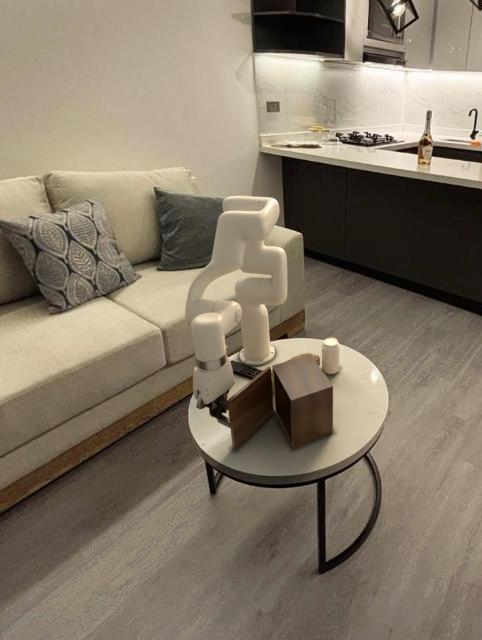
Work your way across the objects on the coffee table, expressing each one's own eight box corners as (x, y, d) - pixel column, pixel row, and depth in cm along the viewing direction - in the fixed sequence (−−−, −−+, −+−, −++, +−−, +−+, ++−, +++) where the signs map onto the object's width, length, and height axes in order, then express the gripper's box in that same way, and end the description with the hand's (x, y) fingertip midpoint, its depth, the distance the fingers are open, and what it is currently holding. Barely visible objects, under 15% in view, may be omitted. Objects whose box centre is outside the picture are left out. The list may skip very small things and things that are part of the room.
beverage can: (336, 363, 147) (336, 334, 143) (341, 373, 142) (342, 344, 137) (319, 366, 145) (319, 338, 140) (324, 377, 140) (324, 348, 135)
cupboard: (293, 449, 112) (291, 400, 105) (275, 411, 124) (272, 365, 118) (332, 433, 117) (333, 386, 111) (311, 398, 130) (310, 354, 124)
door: (214, 438, 114) (207, 390, 107) (254, 402, 127) (250, 358, 121) (235, 449, 111) (229, 401, 104) (273, 412, 124) (271, 367, 117)
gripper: (225, 339, 114) (230, 392, 121) (175, 370, 101) (185, 427, 108) (244, 348, 110) (249, 402, 117) (196, 380, 97) (204, 438, 104)
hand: (218, 413), depth 112 cm, fingers closed on door
